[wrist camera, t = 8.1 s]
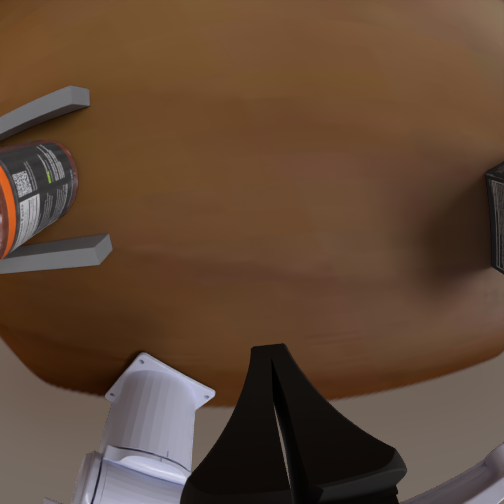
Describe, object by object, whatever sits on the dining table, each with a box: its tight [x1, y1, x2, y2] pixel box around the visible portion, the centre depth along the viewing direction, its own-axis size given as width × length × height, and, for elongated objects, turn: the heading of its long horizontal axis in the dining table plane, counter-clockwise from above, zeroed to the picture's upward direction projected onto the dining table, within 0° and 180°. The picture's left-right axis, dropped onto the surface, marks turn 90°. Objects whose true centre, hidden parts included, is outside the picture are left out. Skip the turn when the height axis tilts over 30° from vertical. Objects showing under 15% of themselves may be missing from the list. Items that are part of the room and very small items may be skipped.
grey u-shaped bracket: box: [0, 86, 113, 274], centre depth 15 cm, size 11×11×2 cm
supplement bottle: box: [0, 140, 78, 260], centre depth 11 cm, size 6×6×11 cm
